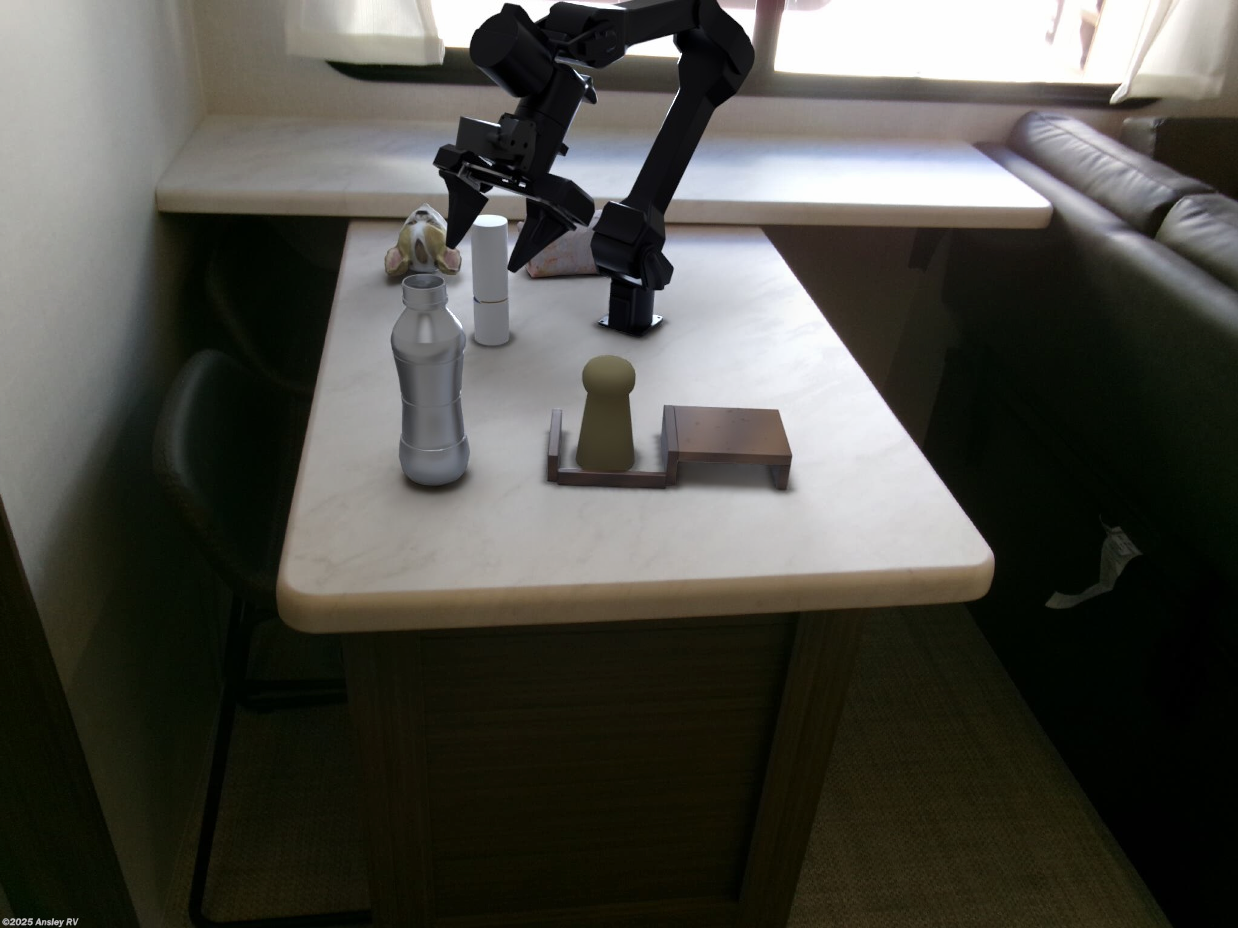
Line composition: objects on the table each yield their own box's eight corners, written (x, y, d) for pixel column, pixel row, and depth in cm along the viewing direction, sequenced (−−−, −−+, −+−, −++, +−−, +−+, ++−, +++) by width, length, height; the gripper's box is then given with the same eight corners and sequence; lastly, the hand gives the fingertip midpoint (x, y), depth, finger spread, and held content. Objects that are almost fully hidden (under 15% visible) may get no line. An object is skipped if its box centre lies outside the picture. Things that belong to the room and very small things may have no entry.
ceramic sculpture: (461, 192, 139) (458, 233, 127) (464, 248, 144) (462, 292, 132) (387, 192, 137) (377, 233, 125) (393, 248, 142) (384, 293, 130)
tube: (515, 335, 120) (514, 219, 111) (498, 348, 116) (495, 229, 108) (486, 328, 121) (482, 212, 113) (468, 340, 118) (463, 222, 110)
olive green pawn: (628, 478, 93) (634, 379, 87) (569, 469, 94) (571, 370, 88) (639, 447, 98) (646, 351, 92) (583, 439, 99) (586, 343, 93)
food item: (525, 282, 134) (524, 214, 129) (516, 261, 141) (515, 196, 135) (618, 277, 137) (621, 210, 132) (605, 257, 144) (608, 193, 139)
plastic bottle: (404, 457, 95) (387, 267, 84) (472, 457, 95) (465, 268, 84) (397, 494, 89) (378, 296, 78) (469, 494, 90) (461, 297, 79)
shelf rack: (547, 484, 92) (547, 449, 90) (552, 433, 100) (552, 400, 98) (787, 492, 93) (793, 458, 91) (773, 441, 101) (778, 409, 99)
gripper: (430, 64, 96) (367, 206, 97) (566, 96, 86) (496, 253, 87) (495, 119, 106) (438, 248, 106) (625, 154, 96) (561, 295, 96)
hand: (479, 259), depth 99 cm, fingers open, 9 cm apart
